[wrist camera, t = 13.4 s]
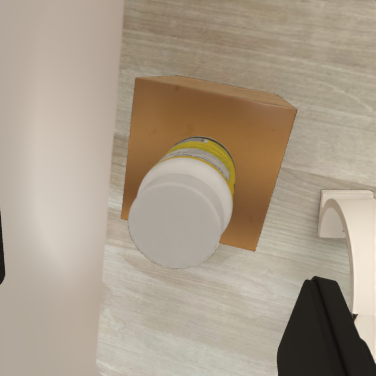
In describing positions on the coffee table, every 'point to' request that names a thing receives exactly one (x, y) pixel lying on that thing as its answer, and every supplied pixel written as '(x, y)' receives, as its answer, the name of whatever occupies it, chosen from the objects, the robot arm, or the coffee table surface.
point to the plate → (367, 331)
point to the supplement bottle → (184, 204)
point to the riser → (218, 130)
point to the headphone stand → (354, 240)
